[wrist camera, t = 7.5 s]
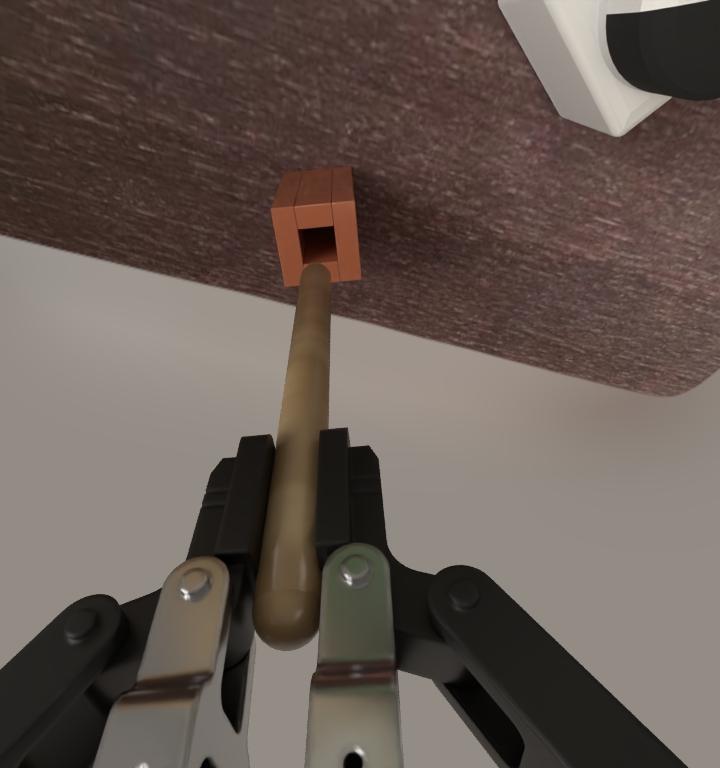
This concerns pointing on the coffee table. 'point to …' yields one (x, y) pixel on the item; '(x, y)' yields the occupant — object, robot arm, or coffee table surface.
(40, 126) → the coffee table surface
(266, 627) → the cooking stick
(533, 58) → the container
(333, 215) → the utensil block
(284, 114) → the coffee table surface
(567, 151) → the coffee table surface
